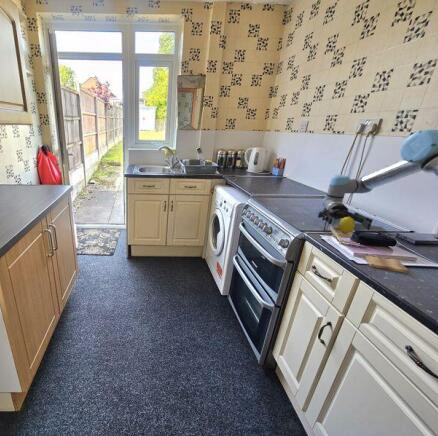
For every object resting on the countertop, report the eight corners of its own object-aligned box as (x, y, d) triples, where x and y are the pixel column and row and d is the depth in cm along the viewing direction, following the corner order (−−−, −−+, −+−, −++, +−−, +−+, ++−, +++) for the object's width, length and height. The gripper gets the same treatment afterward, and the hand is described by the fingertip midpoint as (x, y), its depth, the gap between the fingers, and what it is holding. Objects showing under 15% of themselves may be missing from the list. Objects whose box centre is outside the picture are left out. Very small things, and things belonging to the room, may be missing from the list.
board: (396, 261, 88) (397, 259, 88) (407, 273, 82) (409, 270, 81) (362, 255, 92) (363, 253, 92) (370, 266, 85) (371, 263, 85)
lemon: (333, 231, 112) (338, 215, 109) (342, 230, 114) (347, 214, 111) (345, 236, 107) (351, 219, 104) (354, 235, 109) (360, 218, 106)
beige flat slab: (352, 232, 113) (353, 229, 112) (365, 247, 98) (366, 244, 98) (329, 228, 116) (330, 226, 115) (339, 243, 102) (340, 240, 101)
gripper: (364, 220, 121) (382, 237, 103) (306, 212, 130) (313, 226, 112) (370, 206, 118) (389, 221, 100) (310, 199, 128) (318, 211, 109)
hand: (349, 224), depth 106 cm, fingers open, 13 cm apart
